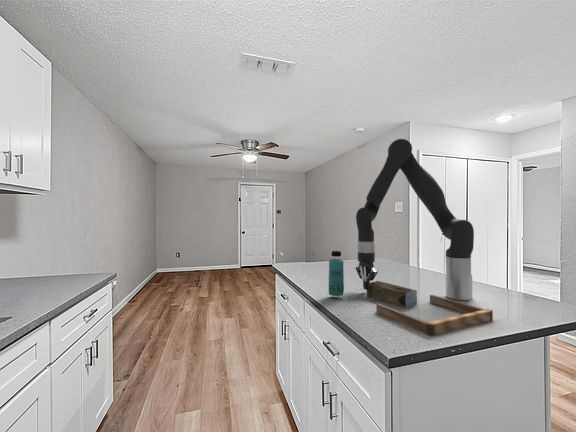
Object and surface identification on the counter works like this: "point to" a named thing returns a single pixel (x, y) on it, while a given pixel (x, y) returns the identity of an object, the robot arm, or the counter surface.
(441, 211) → the robot arm
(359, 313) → the counter surface
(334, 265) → the beverage bottle
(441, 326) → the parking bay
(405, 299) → the beverage carton
